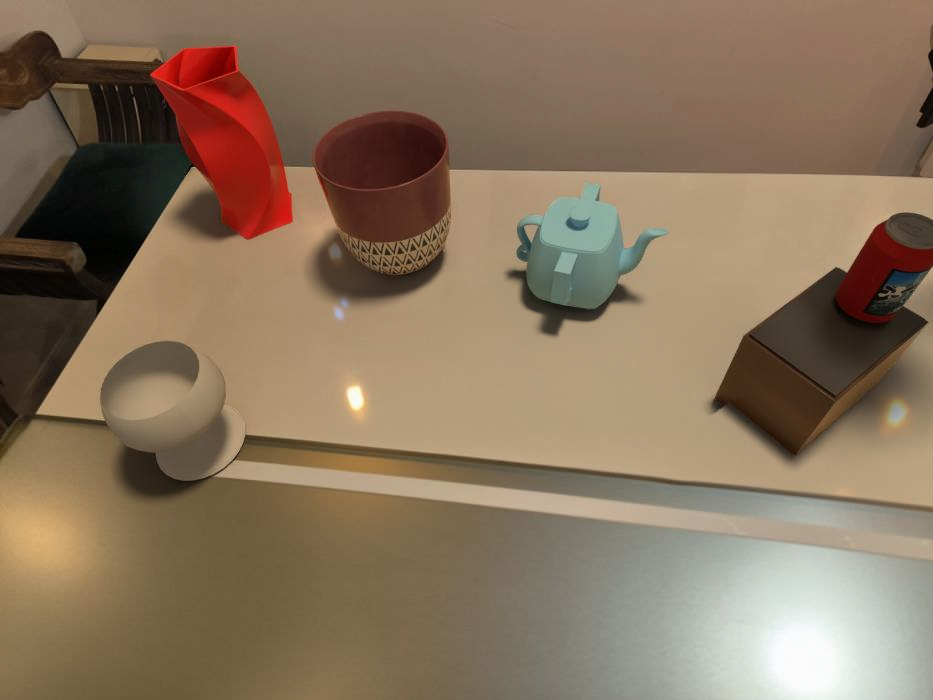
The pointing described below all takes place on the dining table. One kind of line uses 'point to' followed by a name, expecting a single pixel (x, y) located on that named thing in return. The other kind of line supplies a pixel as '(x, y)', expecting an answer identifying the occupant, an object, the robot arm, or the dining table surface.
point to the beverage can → (888, 268)
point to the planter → (388, 188)
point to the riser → (812, 363)
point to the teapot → (579, 250)
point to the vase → (228, 137)
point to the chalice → (173, 409)
